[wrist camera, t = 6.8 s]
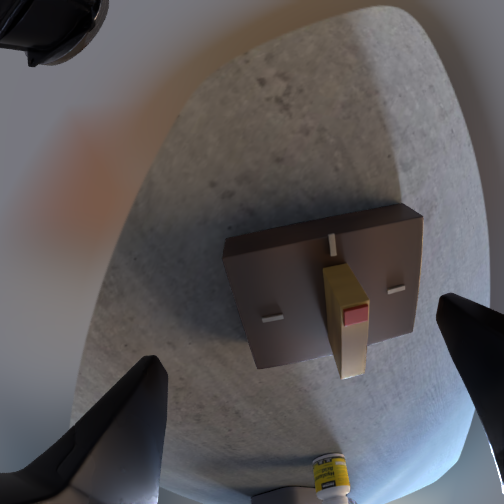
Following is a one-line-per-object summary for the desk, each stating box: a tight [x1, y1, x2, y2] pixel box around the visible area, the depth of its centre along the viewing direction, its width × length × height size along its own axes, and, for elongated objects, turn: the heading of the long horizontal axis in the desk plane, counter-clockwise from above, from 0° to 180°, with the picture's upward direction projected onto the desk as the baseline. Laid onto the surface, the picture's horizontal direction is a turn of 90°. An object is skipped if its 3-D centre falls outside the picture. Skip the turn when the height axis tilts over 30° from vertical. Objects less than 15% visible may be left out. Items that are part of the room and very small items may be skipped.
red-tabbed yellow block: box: [323, 263, 369, 379], centre depth 16 cm, size 6×2×4 cm, turn 12°
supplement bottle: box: [313, 453, 350, 504], centre depth 31 cm, size 5×5×10 cm
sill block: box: [222, 203, 423, 369], centre depth 19 cm, size 13×10×3 cm
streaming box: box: [251, 487, 323, 504], centre depth 44 cm, size 14×14×5 cm
